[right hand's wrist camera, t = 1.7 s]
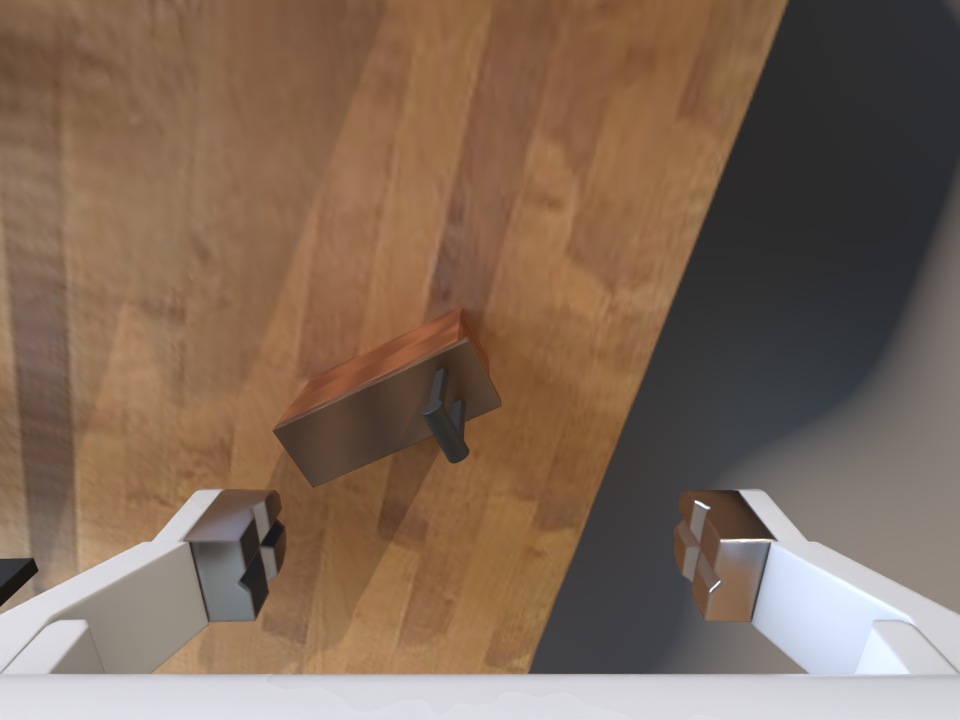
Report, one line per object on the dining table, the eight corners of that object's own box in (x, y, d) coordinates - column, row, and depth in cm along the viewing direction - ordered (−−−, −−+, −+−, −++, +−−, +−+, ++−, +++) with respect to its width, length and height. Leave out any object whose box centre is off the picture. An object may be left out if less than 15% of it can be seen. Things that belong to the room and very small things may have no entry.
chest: (461, 307, 45) (457, 340, 37) (489, 361, 47) (491, 403, 39) (311, 378, 47) (277, 423, 39) (343, 426, 49) (317, 479, 41)
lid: (468, 335, 37) (465, 380, 29) (501, 399, 39) (506, 457, 31) (277, 423, 39) (230, 485, 32) (316, 480, 41) (280, 551, 34)
